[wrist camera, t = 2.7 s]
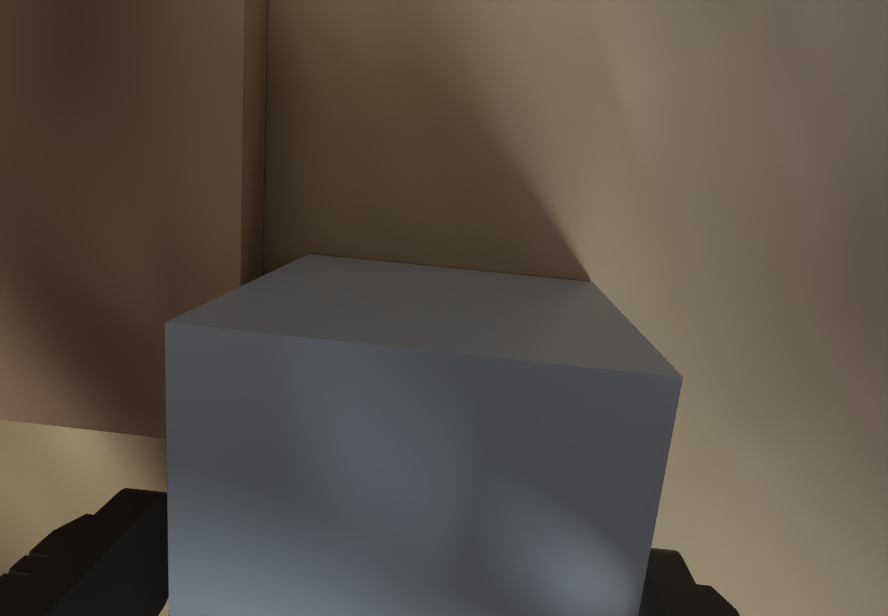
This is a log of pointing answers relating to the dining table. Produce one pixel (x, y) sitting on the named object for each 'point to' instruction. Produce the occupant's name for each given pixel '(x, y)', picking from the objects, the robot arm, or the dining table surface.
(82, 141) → the plate
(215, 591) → the pale blue rectangular box
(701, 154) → the dining table surface
